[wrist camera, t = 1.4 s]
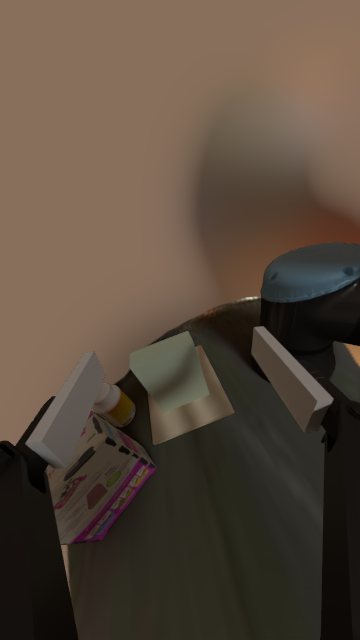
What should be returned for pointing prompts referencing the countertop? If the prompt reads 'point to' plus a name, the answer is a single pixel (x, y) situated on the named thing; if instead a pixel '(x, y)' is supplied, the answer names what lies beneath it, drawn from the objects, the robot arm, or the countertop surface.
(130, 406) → the supplement bottle
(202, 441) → the countertop surface
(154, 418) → the board
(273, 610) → the countertop surface
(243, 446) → the countertop surface
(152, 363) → the pale green rectangular block
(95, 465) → the candy bar box
